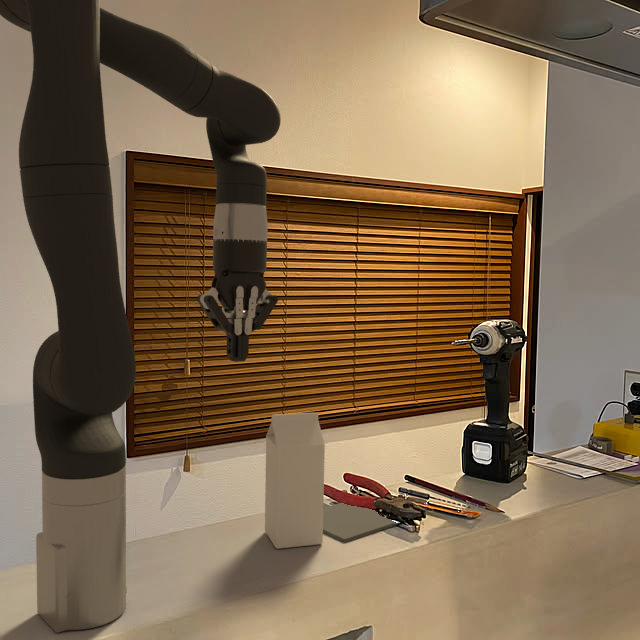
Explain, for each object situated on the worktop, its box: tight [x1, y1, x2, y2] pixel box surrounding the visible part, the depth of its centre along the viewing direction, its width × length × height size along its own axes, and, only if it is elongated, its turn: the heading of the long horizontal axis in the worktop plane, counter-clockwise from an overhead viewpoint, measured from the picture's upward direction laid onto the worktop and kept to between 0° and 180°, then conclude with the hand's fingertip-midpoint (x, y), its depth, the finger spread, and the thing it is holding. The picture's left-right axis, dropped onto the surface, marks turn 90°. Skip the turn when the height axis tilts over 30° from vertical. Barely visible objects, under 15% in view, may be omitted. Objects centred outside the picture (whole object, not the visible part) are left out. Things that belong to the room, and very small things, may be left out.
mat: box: [323, 502, 397, 543], centre depth 116 cm, size 18×12×1 cm, turn 131°
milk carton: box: [264, 412, 326, 549], centre depth 106 cm, size 7×7×19 cm
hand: (237, 360), depth 101 cm, fingers closed
